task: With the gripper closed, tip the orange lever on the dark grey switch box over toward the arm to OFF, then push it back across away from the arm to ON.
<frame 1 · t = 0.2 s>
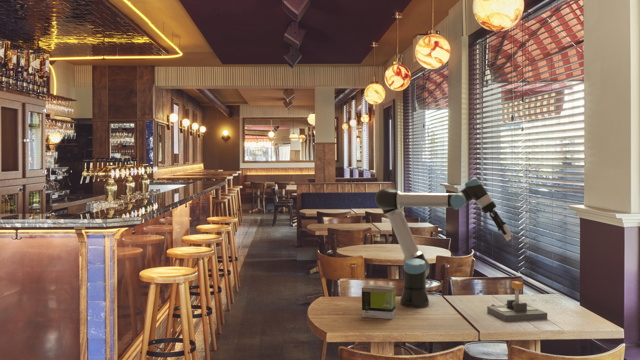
hand: (509, 237, 310), 36 cm above the table, tool tilted 35°, fingers open, 13 cm apart
breaker box: (516, 315, 290), on the table
tea box: (378, 316, 288), on the table
breaker lever: (516, 295, 289), point 10 cm above the table, hinge at 0.0°
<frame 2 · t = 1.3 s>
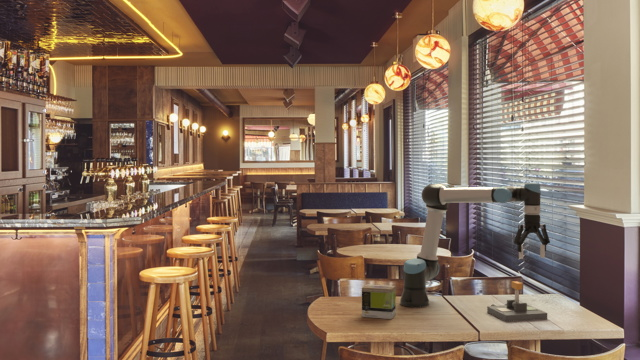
hand: (531, 258, 291), 28 cm above the table, tool pointing down, fingers open, 11 cm apart
nothing on the table moved.
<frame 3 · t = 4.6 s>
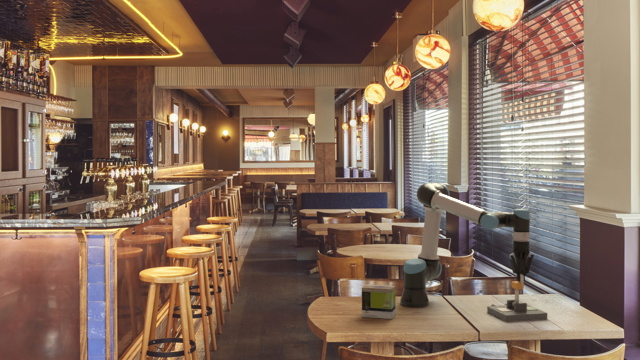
hand: (520, 287, 290), 14 cm above the table, tool pointing down, fingers closed
breaker lever: (516, 295, 289), point 10 cm above the table, hinge at 0.0°, touching gripper
everything else where it was.
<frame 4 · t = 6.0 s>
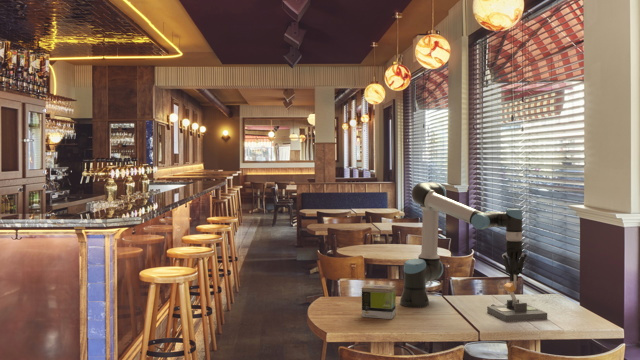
hand: (513, 287, 289), 14 cm above the table, tool pointing down, fingers closed
breaker lever: (513, 296, 289), point 10 cm above the table, hinge at -23.5°, touching gripper
everything else where it was.
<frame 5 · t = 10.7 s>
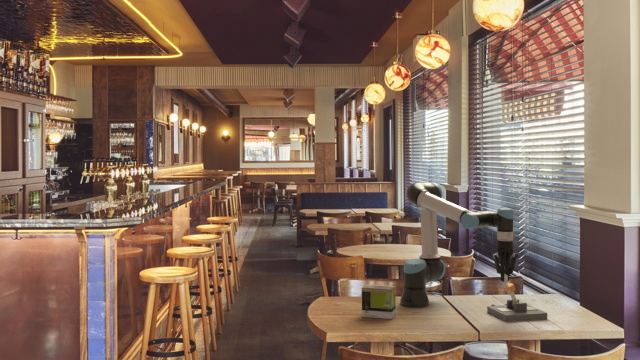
hand: (504, 287, 288), 14 cm above the table, tool pointing down, fingers closed
nothing on the table moved.
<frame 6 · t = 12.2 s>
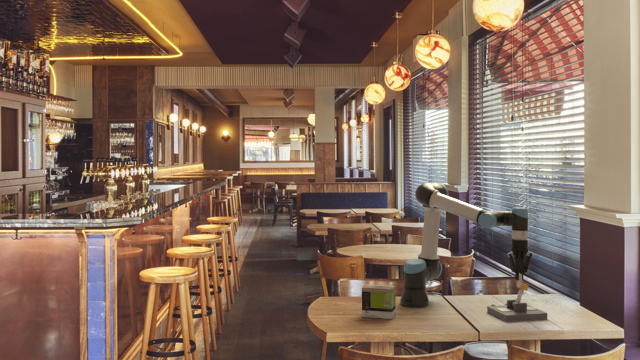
hand: (519, 286, 289), 14 cm above the table, tool pointing down, fingers closed
breaker lever: (519, 295, 290), point 10 cm above the table, hinge at 17.9°, touching gripper
everything else where it was.
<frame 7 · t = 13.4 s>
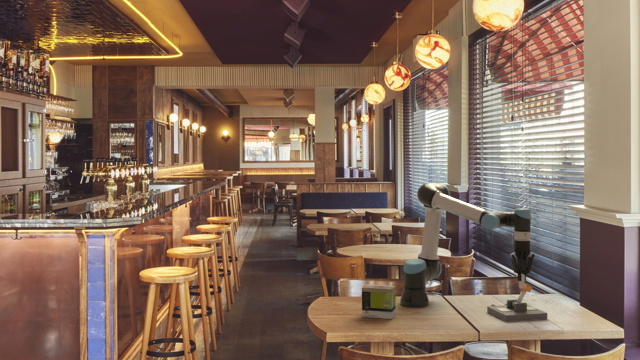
hand: (521, 287, 289), 14 cm above the table, tool pointing down, fingers closed
breaker lever: (521, 296, 290), point 9 cm above the table, hinge at 29.1°, touching gripper
everything else where it was.
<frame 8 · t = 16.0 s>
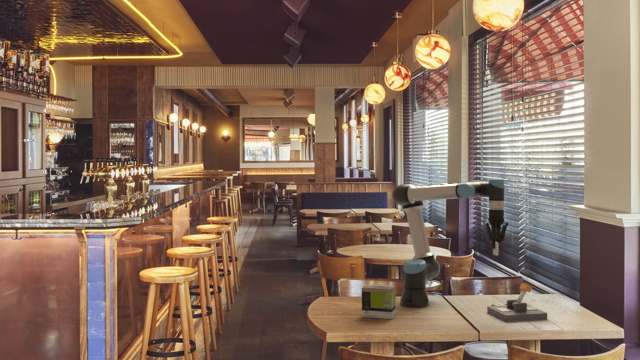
hand: (495, 254, 299), 28 cm above the table, tool pointing down, fingers closed
breaker lever: (521, 296, 290), point 9 cm above the table, hinge at 29.1°
everything else where it was.
at the end: breaker lever at +29° (first picture: +0°) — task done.
